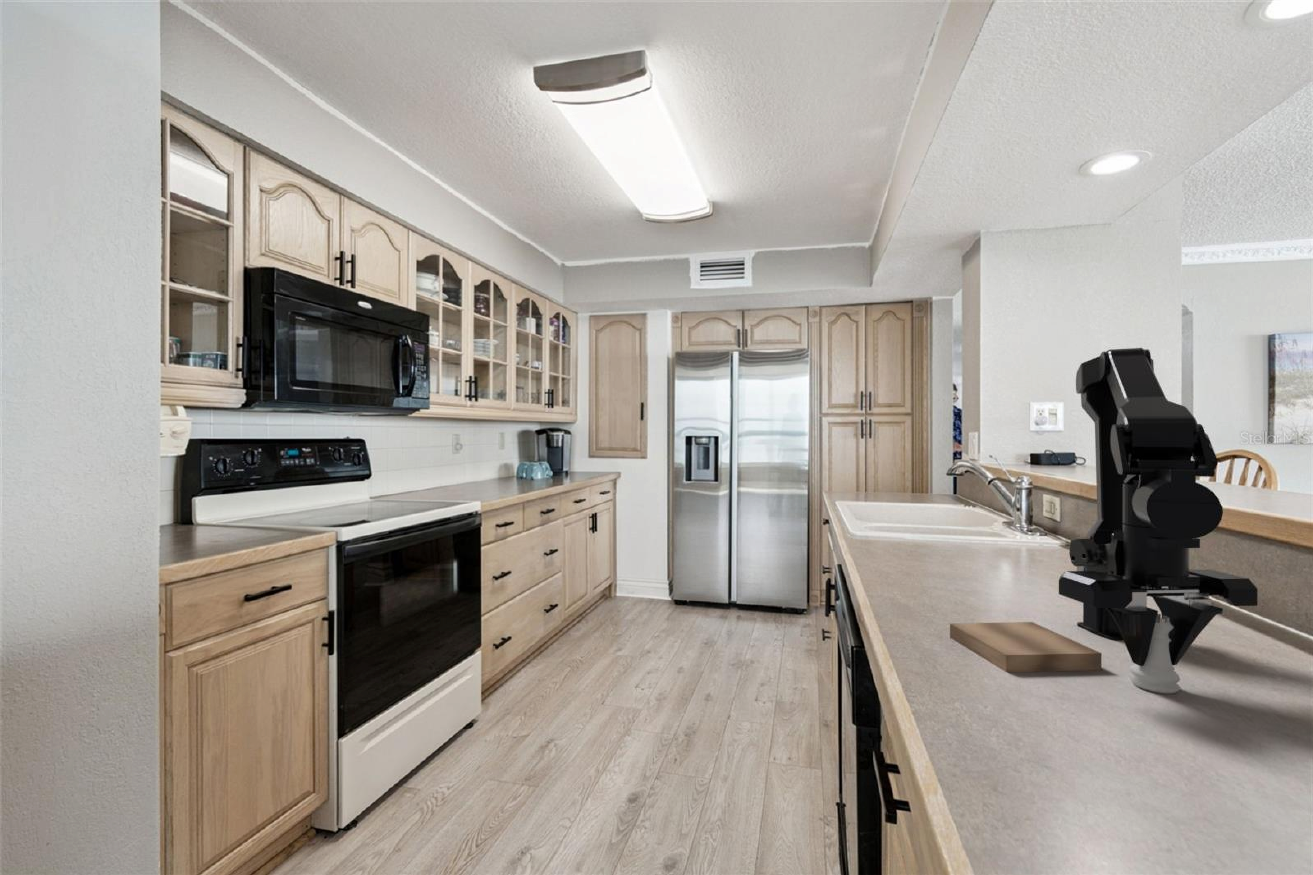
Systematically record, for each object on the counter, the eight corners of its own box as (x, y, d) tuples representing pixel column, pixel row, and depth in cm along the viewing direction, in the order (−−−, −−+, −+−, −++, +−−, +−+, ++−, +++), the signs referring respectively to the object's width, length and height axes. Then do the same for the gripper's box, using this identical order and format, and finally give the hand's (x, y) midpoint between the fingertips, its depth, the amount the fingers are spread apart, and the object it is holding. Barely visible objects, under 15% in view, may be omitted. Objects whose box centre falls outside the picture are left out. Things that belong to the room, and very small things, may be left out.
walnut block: (1032, 639, 83) (1032, 622, 83) (1101, 673, 71) (1101, 653, 71) (949, 641, 83) (949, 623, 83) (1005, 676, 71) (1006, 655, 71)
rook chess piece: (1169, 681, 68) (1169, 612, 68) (1189, 697, 64) (1189, 623, 64) (1122, 676, 69) (1122, 608, 69) (1139, 692, 65) (1139, 619, 65)
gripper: (1167, 515, 75) (1166, 638, 75) (1026, 516, 74) (1025, 641, 74) (1262, 529, 64) (1261, 673, 64) (1098, 530, 63) (1097, 677, 63)
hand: (1154, 664), depth 66 cm, fingers closed on rook chess piece, 3 cm apart
